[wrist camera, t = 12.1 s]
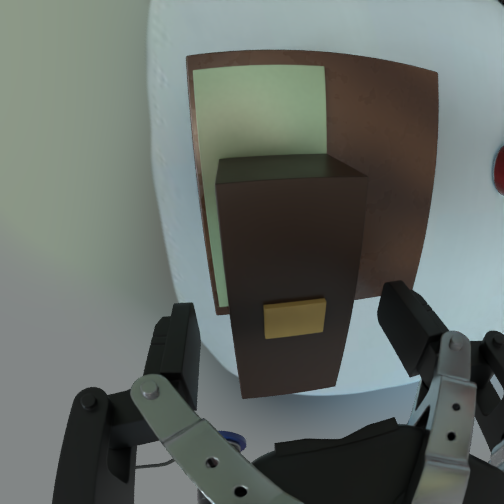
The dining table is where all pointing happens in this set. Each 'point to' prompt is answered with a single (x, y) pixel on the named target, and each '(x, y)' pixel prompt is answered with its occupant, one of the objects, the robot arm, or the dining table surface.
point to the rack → (323, 141)
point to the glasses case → (290, 266)
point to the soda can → (499, 171)
